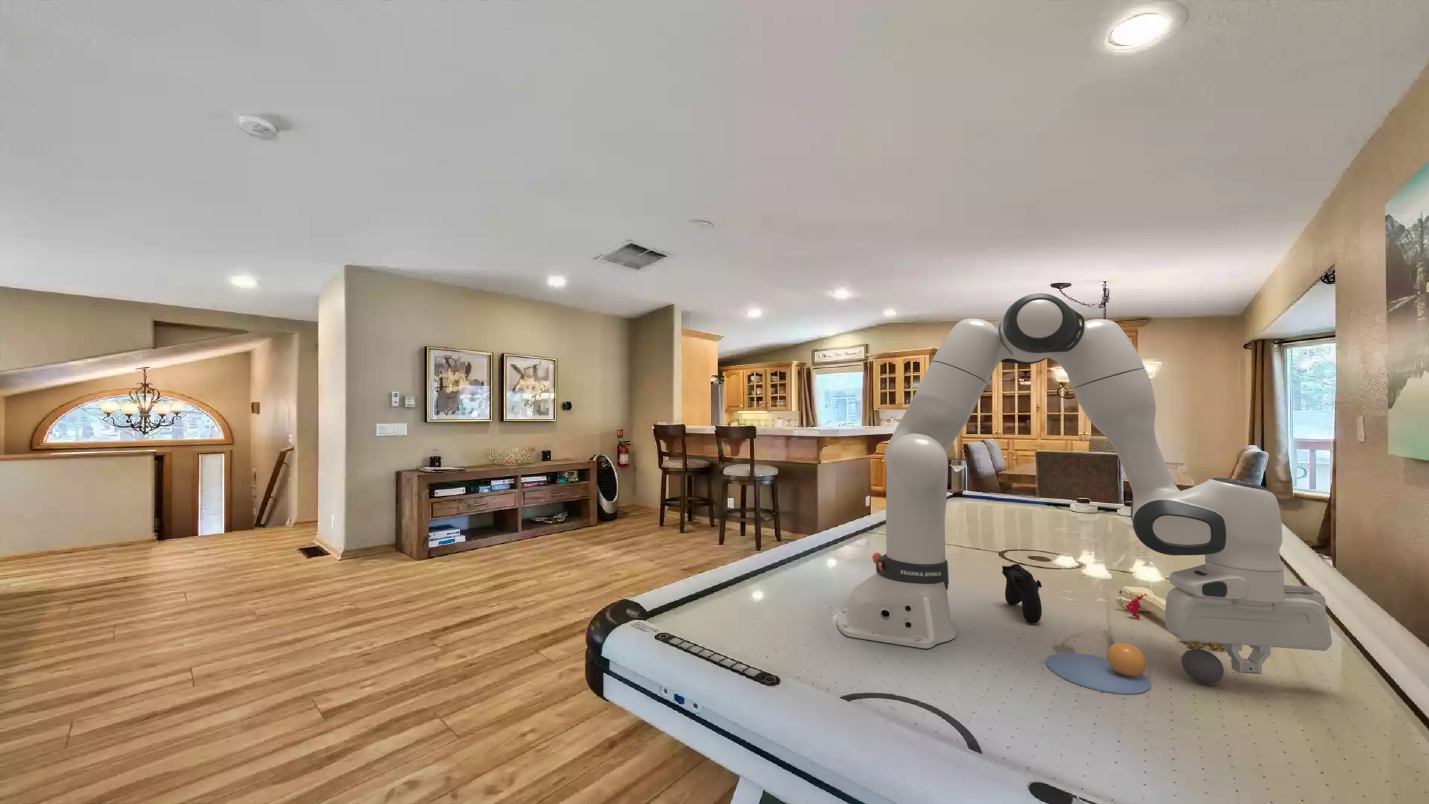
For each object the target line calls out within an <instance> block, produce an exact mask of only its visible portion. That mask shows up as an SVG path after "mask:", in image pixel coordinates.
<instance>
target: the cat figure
mask: <svg viewBox="0 0 1429 804" xmlns="http://www.w3.org/2000/svg"><path fill="white" fill-rule="evenodd" d="M1119 595H1120V596H1119V597H1115V602H1116V603H1117V604H1119V605H1122V608H1124V609H1125V610H1127V611H1128V612H1129V613H1130V614H1131V615H1132V617H1135V618H1136V619H1137V620H1138V621H1139V620H1141V621H1143V620H1144V619H1143V618H1141V615H1140V614H1137V613H1139V611H1142V612H1143V611H1144V612H1151V613H1152V614H1153V615H1154V616H1158V617H1160V618H1161V619H1163V620H1164V621H1165V606H1166V599H1164V598H1163V597H1159V596H1157V595H1156V593H1155V592H1153V591H1152V590H1151V589H1148V588H1147V587H1143V586H1127V585H1126V586H1123V587H1122V588H1120V590H1119ZM1182 641H1183V642H1185V645H1186V646H1187V647H1189V648H1190V649H1203V648H1204V643H1205V642H1197V641H1185V640H1182ZM1206 643H1208V647H1209V648H1211V650H1214V651H1216V652H1222V651H1223V650H1224V651H1226V650H1225V649H1224V647H1223V646H1222V643H1211V642H1206Z"/></svg>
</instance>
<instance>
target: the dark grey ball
mask: <svg viewBox="0 0 1429 804" xmlns="http://www.w3.org/2000/svg"><path fill="white" fill-rule="evenodd" d="M1180 663H1181V666H1182V669H1183V671H1184V672H1185V673H1186V674H1187V675H1188V676H1189V677H1190V678H1191V679H1193V680H1194V681H1196V682H1198V683H1202V684H1206V685H1207V684H1209V685H1210V684H1215V683H1217V682H1220V680H1221V679H1223V677H1224V674H1225V670H1224V669H1225V668H1224V666H1223V664H1222V662H1221V660H1220V659H1219V658H1218V657H1217V656H1216V655H1214V653H1212V652H1210V651H1208V650H1206V649H1203V648H1199V649H1192V648H1190V649H1188V650H1186V651H1185V652H1183V654H1182V656H1181V659H1180Z"/></svg>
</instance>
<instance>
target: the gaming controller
mask: <svg viewBox="0 0 1429 804" xmlns="http://www.w3.org/2000/svg"><path fill="white" fill-rule="evenodd" d="M1001 569H1002V571H1001V573H1002V574H1003V576H1004V577H1005V580H1006V581H1005V582H1006V583H1005V590H1004V599H1005V601H1006V603H1007V604H1008V605H1010V606H1016V605H1018V604H1020V603H1021V611H1022V616H1023V619H1024V620H1025V622H1026V623H1028V624H1030V623H1031V625H1035V624H1037V623H1039V622H1040V620H1041V618H1042V613H1043V609H1042V608H1043V607H1042V601H1041V597H1040V593H1039V589H1041V588H1042V587H1043V586H1042V583H1041V581H1040V579H1037V580H1036V579H1034V576H1033V574H1032V573H1031V572H1030V571H1029V570H1026V569H1025V568H1024V567H1022V565H1020V563H1013V564H1011V565H1002V567H1001Z"/></svg>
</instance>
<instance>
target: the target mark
mask: <svg viewBox="0 0 1429 804" xmlns="http://www.w3.org/2000/svg"><path fill="white" fill-rule="evenodd" d="M1045 664H1047V665H1046V667H1047V666H1048V667H1049V668H1048V667H1047V668H1048V669H1049V670H1050V671H1051V672H1052V673H1053V672H1054V674H1055V675H1056V674H1057V676H1058V677H1060V678H1062V679H1064V680H1065V679H1066V680H1065V681H1068V682H1070V683H1073V684H1075V685H1078V686H1080V687H1084V688H1087V689H1090V690H1094V691H1099V692H1104V693H1110V694H1114V695H1115V694H1117V695H1139V694H1143V693H1146V692H1148V691H1149V690H1150V689H1151V688H1152V683H1151V681H1150V679H1149V678H1148V677H1147V676H1146V675H1145V674H1143V673H1142V674H1140V675H1138V676H1135V677H1128V676H1124V675H1121V674H1119V673H1118V672H1116V671H1115V670H1114V669H1113V668H1112V667H1111V665H1110V664H1109V662H1108V659H1107V658H1106V657H1101V656H1099V655H1098V656H1097V655H1092V654H1086V653H1080V652H1061V653H1054V654H1050V655H1049V656H1048V657H1047V658H1046V659H1045Z"/></svg>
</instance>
